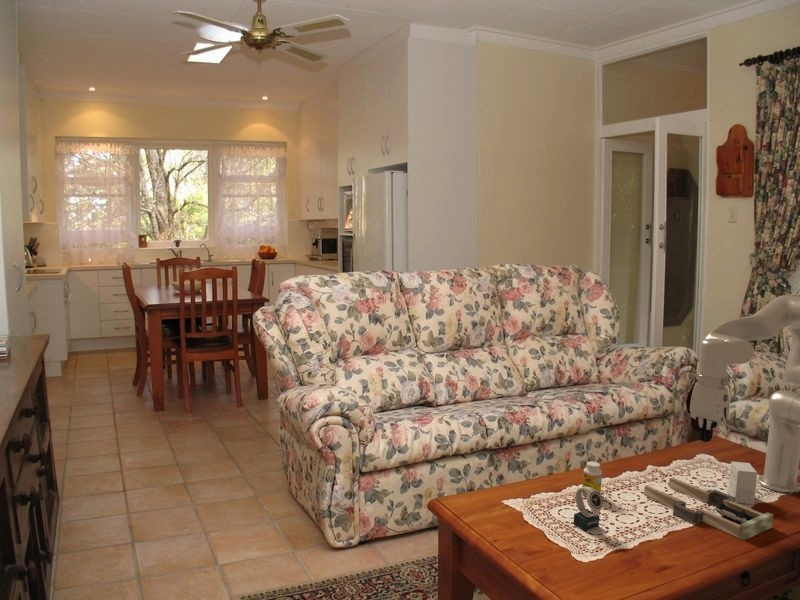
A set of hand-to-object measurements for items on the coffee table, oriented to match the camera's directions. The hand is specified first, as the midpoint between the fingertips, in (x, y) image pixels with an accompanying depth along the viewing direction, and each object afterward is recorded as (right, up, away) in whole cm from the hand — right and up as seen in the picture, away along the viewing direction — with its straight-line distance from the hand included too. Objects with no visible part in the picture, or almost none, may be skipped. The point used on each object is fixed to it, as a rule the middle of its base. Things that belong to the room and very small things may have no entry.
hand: (705, 440), depth 208 cm
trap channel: (0, -21, +1) cm, 21 cm away
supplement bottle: (-31, -19, +10) cm, 38 cm away
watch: (-38, -22, -10) cm, 45 cm away
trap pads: (0, -21, +1) cm, 21 cm away
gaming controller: (+6, -23, -4) cm, 24 cm away
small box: (+15, -20, +10) cm, 28 cm away
